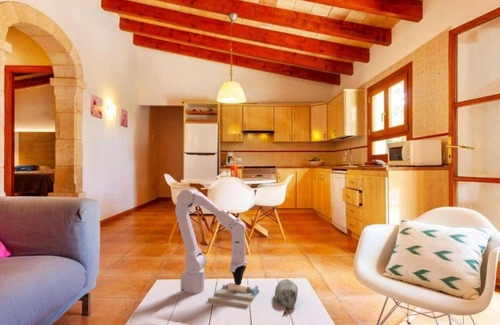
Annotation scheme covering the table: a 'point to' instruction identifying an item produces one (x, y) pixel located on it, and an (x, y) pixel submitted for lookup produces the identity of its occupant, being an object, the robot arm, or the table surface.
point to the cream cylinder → (238, 288)
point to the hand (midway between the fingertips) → (238, 284)
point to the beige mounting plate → (233, 298)
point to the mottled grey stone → (286, 293)
